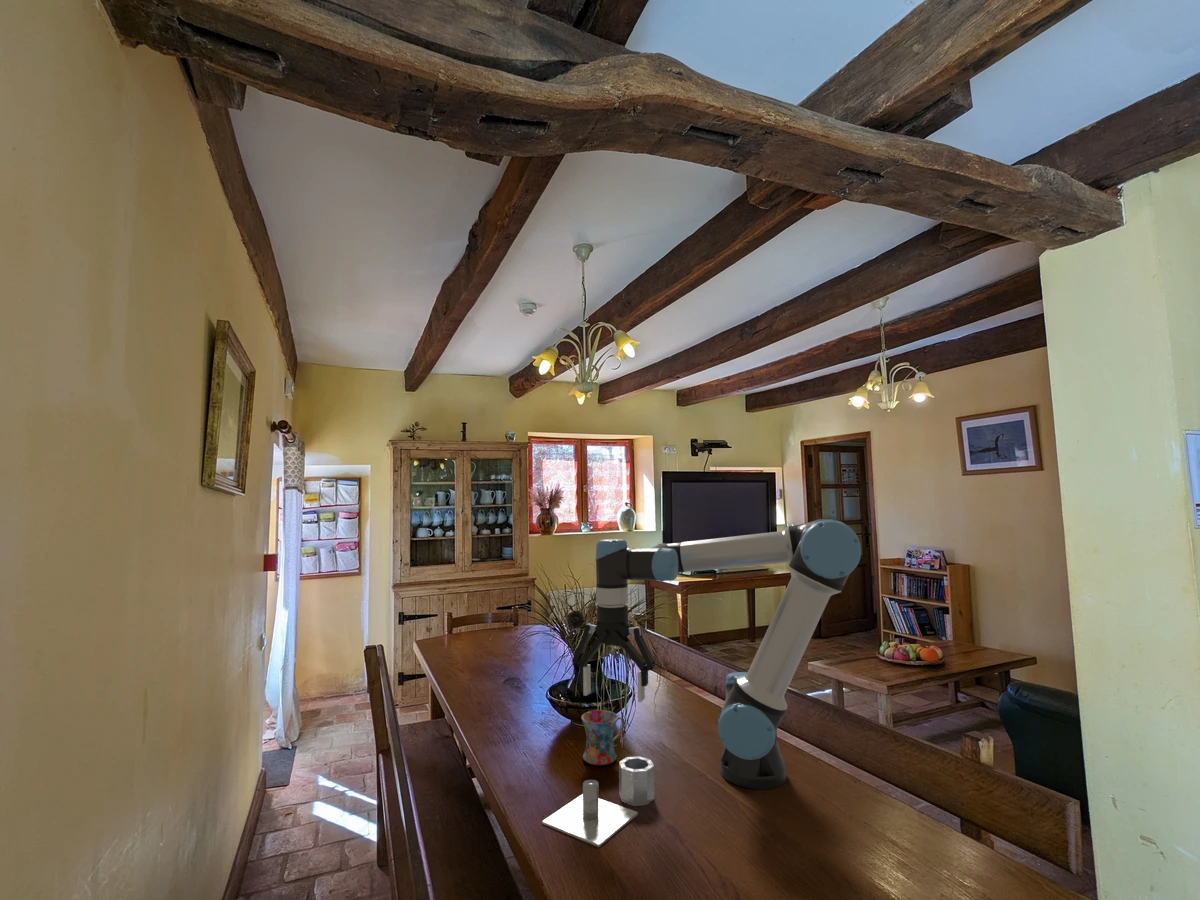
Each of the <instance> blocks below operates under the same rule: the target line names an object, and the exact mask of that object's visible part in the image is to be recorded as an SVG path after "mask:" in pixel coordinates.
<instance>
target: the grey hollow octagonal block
mask: <svg viewBox="0 0 1200 900" xmlns="http://www.w3.org/2000/svg"><path fill="white" fill-rule="evenodd" d="M618 772H619V773H618V796H619V798H620V801H621V803H623V802H624V803H623V804H626V803H627V804H626V805H628V806H629V805H630V806H632V807H639V806H648V805H649V804H650V803H651V802H652V801H654V800H655V765H654V763H653V761H652V760H651V759H649V758H646V757H643V756H638V755H637V756H626V757H625V758H623V759H622V760H620V761H619V763H618Z"/></svg>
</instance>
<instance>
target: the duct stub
mask: <svg viewBox="0 0 1200 900" xmlns="http://www.w3.org/2000/svg"><path fill="white" fill-rule="evenodd" d="M599 789H600V788H599V781H597V780H595V779H586V780H584V781H583V782H582V794H580V795H578V796H577V797H576V798H574V799H573V800H571V801H570V802H568V803H567V804H565V805H564V806H562V807H561V808H560V809H558V810H557V811H555V812H554V813H552V814H551V815H549V816H548V817H546V818H545V819H543V820H542V825H544V826H546V827H549V828H551V829H552V830H553V829H554V830H556V831H558V832H561V833H563V834H566V835H568V836H571V837H573V838H575V839H578V840H580V841H582V842H584V843H588V844H590V845H592V846H594V847H596V848H600V847H602V845H604V844H605V843H606V842H607V841H609V840H610V839H611V838H612V837H613V836H615V834H617V833H618V832H619V831H620V830H622V829H623V828H624V827H625V826H627V825H628V824H629V823H630V822H631V821H632V820H634V819H635V818H636V817H637V816H638V815H639V813H638V811H636V810H633V809H631V808H627V807H624V806H622V805H619V804H616V803H613V802H611V801H607V800H605V799H602V798H599V792H600V791H599Z"/></svg>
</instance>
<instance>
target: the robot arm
mask: <svg viewBox="0 0 1200 900" xmlns="http://www.w3.org/2000/svg"><path fill="white" fill-rule="evenodd" d="M628 546H629V545H628V542H627V540H626V539H622V538H620V539H619V538H608V539H607V538H606V539H599V540H598V541H597V542H596V547H595V548H596V549H595V550H596V551H595V553H596V554H595V573H596V574H595V576H596V581H595V582H596V584H595V585H596V594H595V595H596V596H595V597H596V598H595V599H596V600H595V601H596V604H597V606H596V625H595V624H593V623H592V622H589V623H586V624H584V628H583V633H582V634H583V635H582V637H581V638H580V641H579V643H578V646H577V648H576V650H575V652H574V654H573V657H572V659H571V660H572V663H573V664H577V665H578V666H579V680H581V681H582V682H583V684H582V686H583V688H582V690H583V696H585V697H586V696H588V695H589V694H591V693H592V690H591V688H592V687H591V686H592V685H591V684H592V683H591V682H592V681H591V677H592V676H591V664H588V663H589V662H590V660H591V659H592V657H593V656H594V655H595V654H596V653H597V652H598V650H599V649H600V647H602V645H603V644H604V645H605V646H614V647H619V646H621V648H622V649H623V650H625V652H626V653H627V654H628V656H629V657H630V659H631V660H632V661H633V663H634V664H635V665H636V667H637V668H638V669H639V670H638V671H637V672H636V673H637V702H638V703H641V702H643V701H644V700H645V698H646V695H645V694H646V693H645V689H646V688H645V687H647V685H649V671H652V670H654V669H655V668H656V667H657V664H656V662H655V659H654V658H653V657H654V656H653V655H652V653H651V651H650V649H649V647H648V644H647V642H646V641H645V640H646V639H645V638H644V636H643V629H642V627H641V626H640V625H638V626H636V627H630V626H629V606H628V605H627V603H628V602H629V597H628V596H629V594H628V593H629V591H628V581H629V580H630V581H635V580H636V581H655V582H666V581H667V582H668V581H669V582H670V581H674V580H676V579H677V577H678V575H679V574H682V573H687V572H700V571H711V570H712V571H713V570H722V569H734V568H744V567H745V568H746V567H754V566H756V567H757V566H765V565H766V566H767V565H777V564H788V566H787V568H788V570H789V573H790V577H791V578H790V580H789V582H788V584H787V586H786V589H785V591H783V592H784V593H783V595H782V597H781V600H780V601H779V604H778V606H777V607H776V610H775V612H774V615H773V617H772V618H771V622H770V623H769V625H768V628H767V629H766V632H765V634H764V636H763V638H762V640H761V642H760V645H759V647H758V649H757V651H756V653H755V655H754V657H753V660H752V662H751V664H750V667H749V668H748V671H744V672H743V671H740V672H739V671H737V672H735V671H734V672H730V673H728V674H727V675H726V677H725V684H724V686H725V701H724V702H723V703H724V704H723V706H722V709H721V712H720V713H719V715H718V719H717V730H718V735H719V739H720V741H721V743H722V744H723V750H722V753H721V757H720V762H719V771H720V774H721V776H722V777H723V778H724V779H725V780H726V781H728V782H730V783H732V784H733V785H737V786H739V787H743V788H747V789H754V790H767V789H768V790H769V789H774V788H778V787H780V786H781V785H783V784H784V783H785V781H786V779H787V771H786V765H785V763H784V760H783V756H782V753H781V750H780V746H779V744H778V728H779V726H780V724H781V722H782V721H783V720H782V719H783V717H784V715H785V714H786V711H787V709H788V703H787V701H786V698H785V694H786V692H787V691H788V689H789V687H790V684H791V683H792V679H793V678H794V675H795V673H796V671H797V669H798V667H799V665H800V662H801V660H802V658H803V656H804V653H805V651H806V649H807V647H808V645H809V644H810V643H809V642H810V640H811V639H812V637H813V634H814V632H815V631H816V628H817V625H818V623H819V621H820V619H821V618H822V615H823V613H824V611H825V609H826V607H827V605H828V602H829V600H830V599H831V597H832V596H834V595H836V594H840V593H842V591H843V589H844V586H845V584H846V582H847V580H848V578H849V576H850V574H851V573H852V572H853V571H855V569H856V568H857V566H858V565H859V563H860V560H861V556H862V547H861V546H862V545H861V541H860V539H859V537H858V535H857V534H856V532H855V531H854V530H853V528H852V527H850V526H849V525H848V524H846V523H844V522H843V521H840V520H836V519H835V518H834V519H832V518H819V519H815V520H813V521H809V522H805V523H800V524H795V525H789V526H788V525H787V526H786V527H785V528H784V529H783V530H781V531H771V532H762V533H753V534H744V535H736V536H734V535H733V536H727V537H716V538H709V539H698V540H689V541H688V540H687V541H682V542H672V543H668V542H664V543H659V544H657V545H655V546H652V547H628ZM595 632H596V634H597V635H598V637H597V639H596V640H595V641H594V642H593V645H592V646H591V647H590V648H589V650H588V651H587V652H586V653H585V655H584V652H585V650H586V648H587V645H588V644H589V641H590V639H591V637H592V634H594V633H595ZM630 634H631V636H632V637H633V638H634V641H635V643H636V645H637V648H638V650H639V652H640V653H639V652H638V650H637V649H636V648H635V645H633V644H632V640H630V638H629V635H630ZM583 655H584V656H583Z"/></svg>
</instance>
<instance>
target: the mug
mask: <svg viewBox="0 0 1200 900" xmlns="http://www.w3.org/2000/svg"><path fill="white" fill-rule="evenodd" d="M581 720H582V722H583V723H582V724H583V726H584V730H585V735H586V745H585V750H584V753H583V755H582V758H583V760H584V762H586V763H588V764H590V765H594V766H607V765H610V764H612V763H614V762H615V761H616V760H617V757H618V755H617V753H616V750H615V747H614V746H615V743H614V741H616V740H617V739H618V738H619V737H620V735H621V734H622V732H623V730H624V728H625V723H626V722H625V720H624V718H623V717H620V716H619V715H618V714H617V713H615V712H613V711H609V710H601V709H600V710H597V709H596V710H590V711H587V712H584V713H583V714H582V715H581ZM619 720H621V722H622V724H621V727H620V730H619V731H618V732H617V734H616V735H615V736H614V733H615V728H616V725H617V722H618V721H619Z"/></svg>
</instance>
